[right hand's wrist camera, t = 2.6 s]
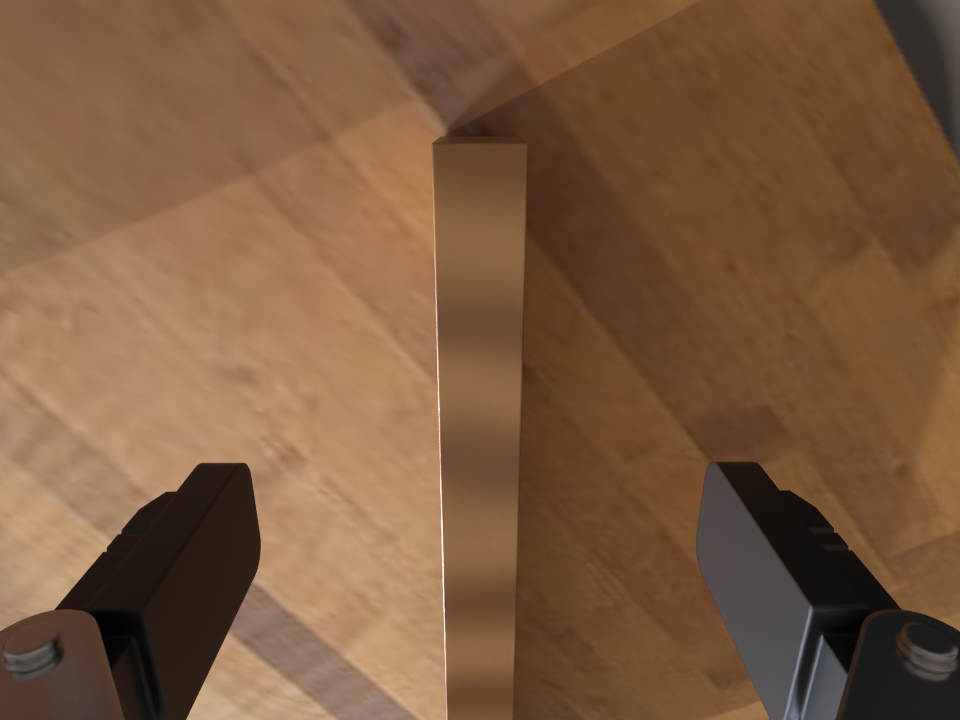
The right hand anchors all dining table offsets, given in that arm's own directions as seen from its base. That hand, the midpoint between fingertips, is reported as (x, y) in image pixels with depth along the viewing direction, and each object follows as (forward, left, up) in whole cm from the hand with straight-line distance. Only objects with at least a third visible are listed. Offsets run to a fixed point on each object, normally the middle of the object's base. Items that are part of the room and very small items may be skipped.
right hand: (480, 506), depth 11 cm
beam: (+10, -17, -27) cm, 34 cm away
